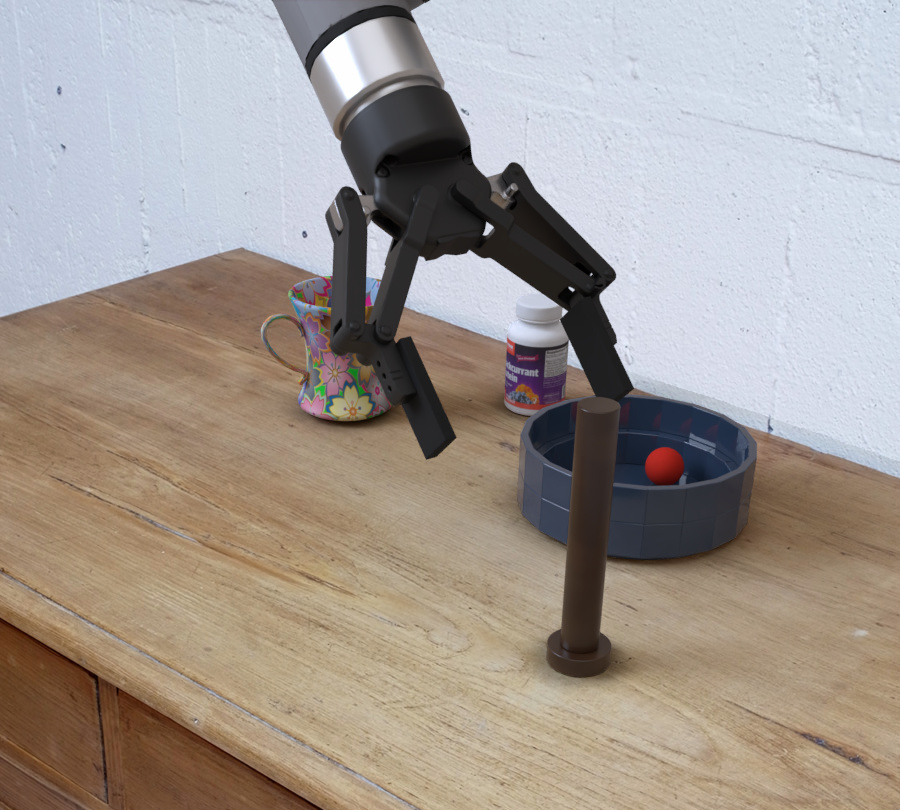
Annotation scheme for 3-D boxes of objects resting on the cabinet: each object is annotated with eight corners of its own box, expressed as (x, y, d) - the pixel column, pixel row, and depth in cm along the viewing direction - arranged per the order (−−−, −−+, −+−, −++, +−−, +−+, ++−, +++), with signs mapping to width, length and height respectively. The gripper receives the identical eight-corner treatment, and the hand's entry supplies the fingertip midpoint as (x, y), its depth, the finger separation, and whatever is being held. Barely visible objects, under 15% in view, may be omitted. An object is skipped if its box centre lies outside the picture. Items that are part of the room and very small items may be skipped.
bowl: (709, 460, 108) (718, 391, 105) (776, 561, 93) (789, 485, 90) (502, 466, 106) (505, 396, 103) (538, 570, 92) (542, 492, 88)
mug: (376, 384, 121) (375, 270, 116) (415, 420, 114) (415, 301, 109) (250, 402, 117) (243, 284, 112) (282, 441, 110) (276, 318, 104)
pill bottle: (491, 405, 117) (495, 298, 112) (533, 390, 121) (538, 286, 116) (534, 423, 114) (540, 314, 109) (576, 407, 117) (584, 301, 112)
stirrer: (602, 641, 84) (626, 390, 75) (616, 675, 80) (642, 417, 72) (541, 643, 83) (557, 391, 75) (552, 678, 80) (570, 419, 71)
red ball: (676, 475, 104) (680, 440, 102) (686, 492, 101) (690, 456, 100) (639, 476, 104) (643, 441, 102) (648, 493, 101) (652, 457, 100)
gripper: (521, 133, 91) (650, 406, 88) (193, 177, 78) (333, 498, 75) (576, 62, 84) (718, 354, 82) (229, 97, 72) (383, 444, 69)
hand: (533, 423), depth 78 cm, fingers open, 13 cm apart
